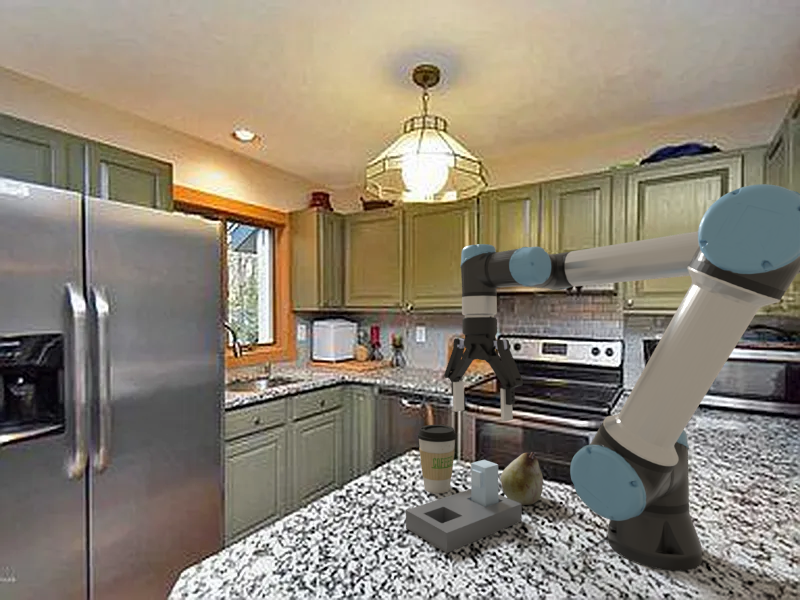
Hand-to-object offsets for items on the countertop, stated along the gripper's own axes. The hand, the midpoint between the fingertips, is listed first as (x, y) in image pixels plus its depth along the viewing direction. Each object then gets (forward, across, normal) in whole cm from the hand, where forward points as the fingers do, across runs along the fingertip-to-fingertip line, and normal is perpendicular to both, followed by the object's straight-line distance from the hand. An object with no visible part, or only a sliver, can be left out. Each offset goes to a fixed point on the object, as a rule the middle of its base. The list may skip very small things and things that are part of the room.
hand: (481, 415), depth 97 cm
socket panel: (+22, 0, +6) cm, 22 cm away
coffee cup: (+21, +17, -3) cm, 28 cm away
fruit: (+22, 0, -13) cm, 25 cm away
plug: (+21, 0, 0) cm, 21 cm away
